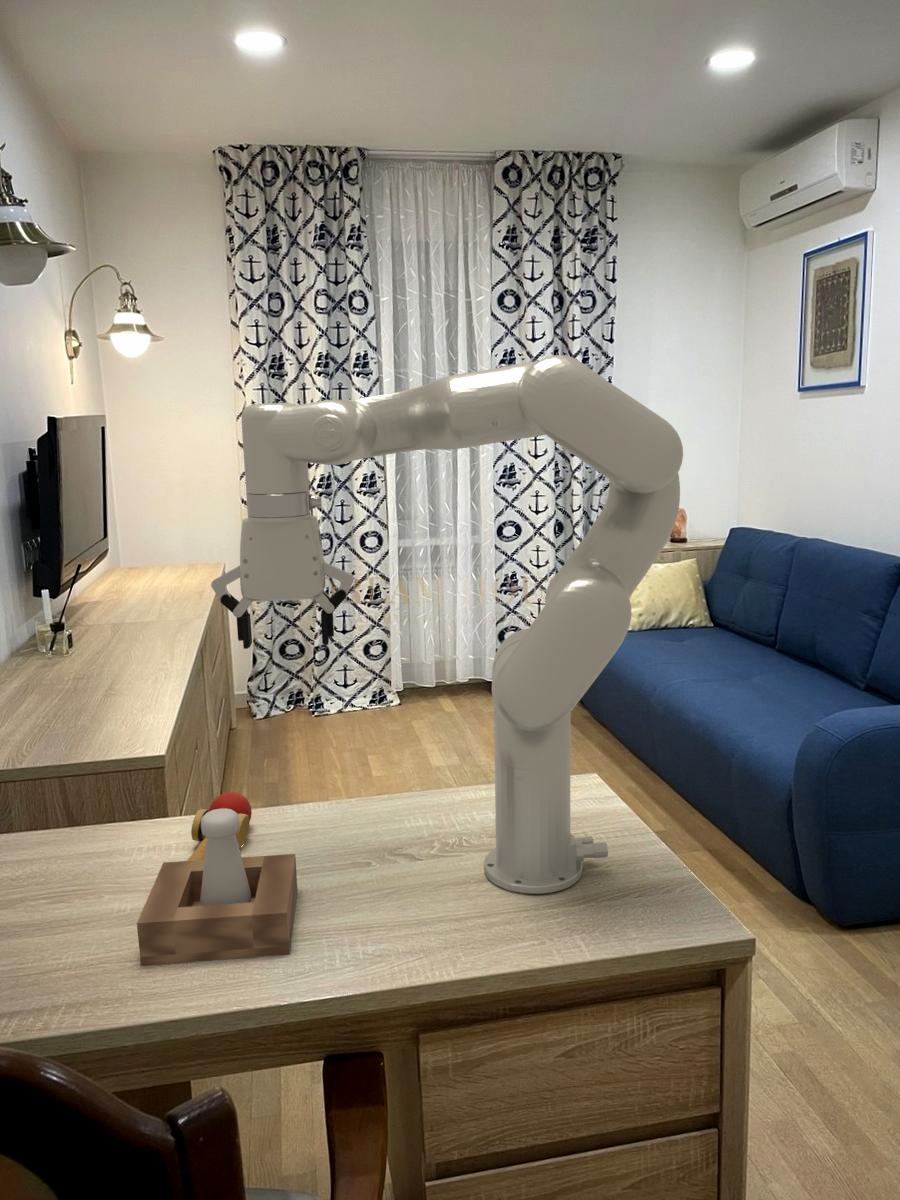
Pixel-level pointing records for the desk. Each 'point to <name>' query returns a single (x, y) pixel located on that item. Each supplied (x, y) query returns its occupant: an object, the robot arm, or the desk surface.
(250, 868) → the socket block
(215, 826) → the grey rounded peg
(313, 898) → the desk surface
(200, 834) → the kendama
